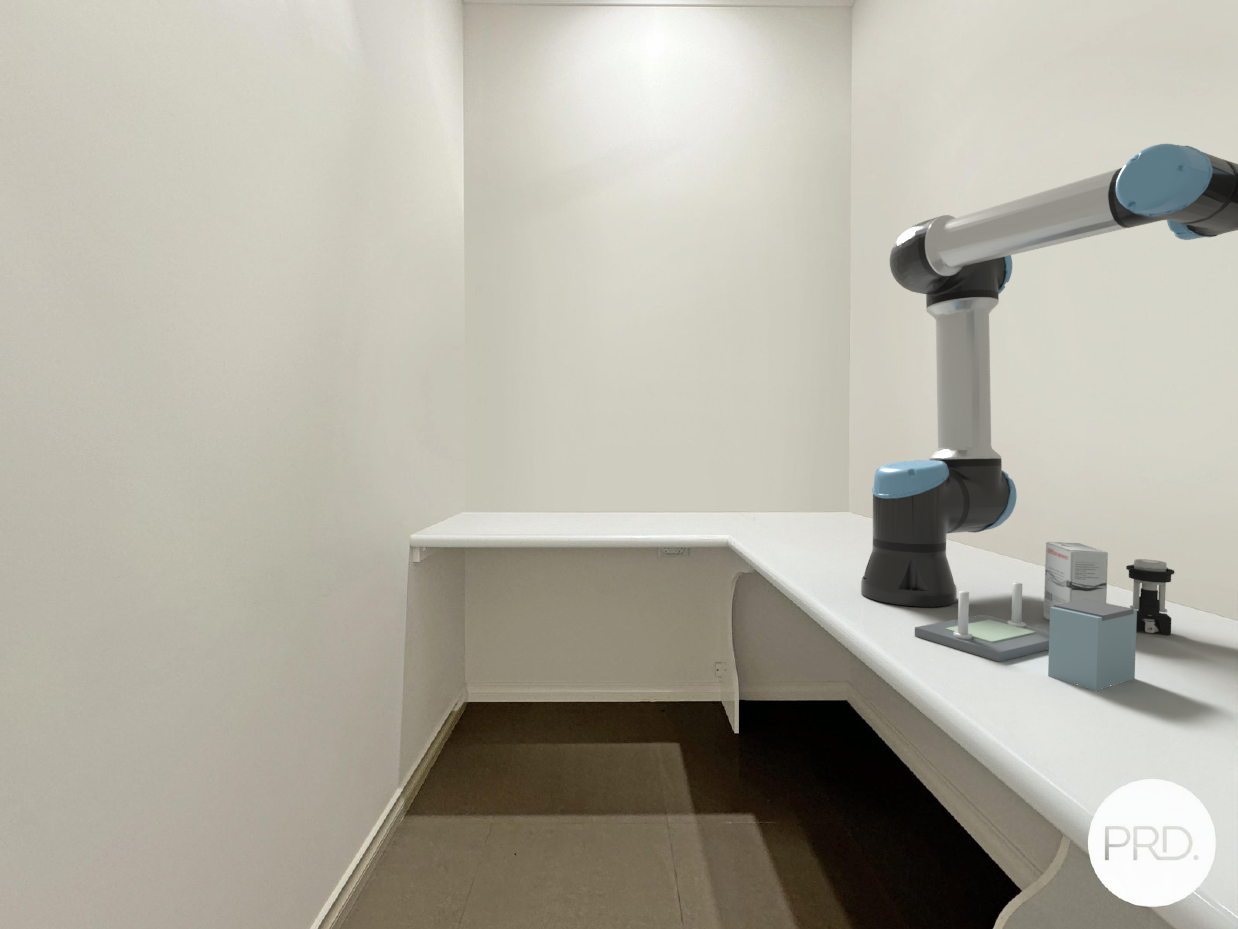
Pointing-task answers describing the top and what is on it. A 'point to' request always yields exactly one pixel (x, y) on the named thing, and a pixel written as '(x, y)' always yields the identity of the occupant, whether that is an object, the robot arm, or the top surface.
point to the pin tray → (988, 632)
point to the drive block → (1092, 643)
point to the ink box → (1074, 574)
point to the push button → (1150, 595)
